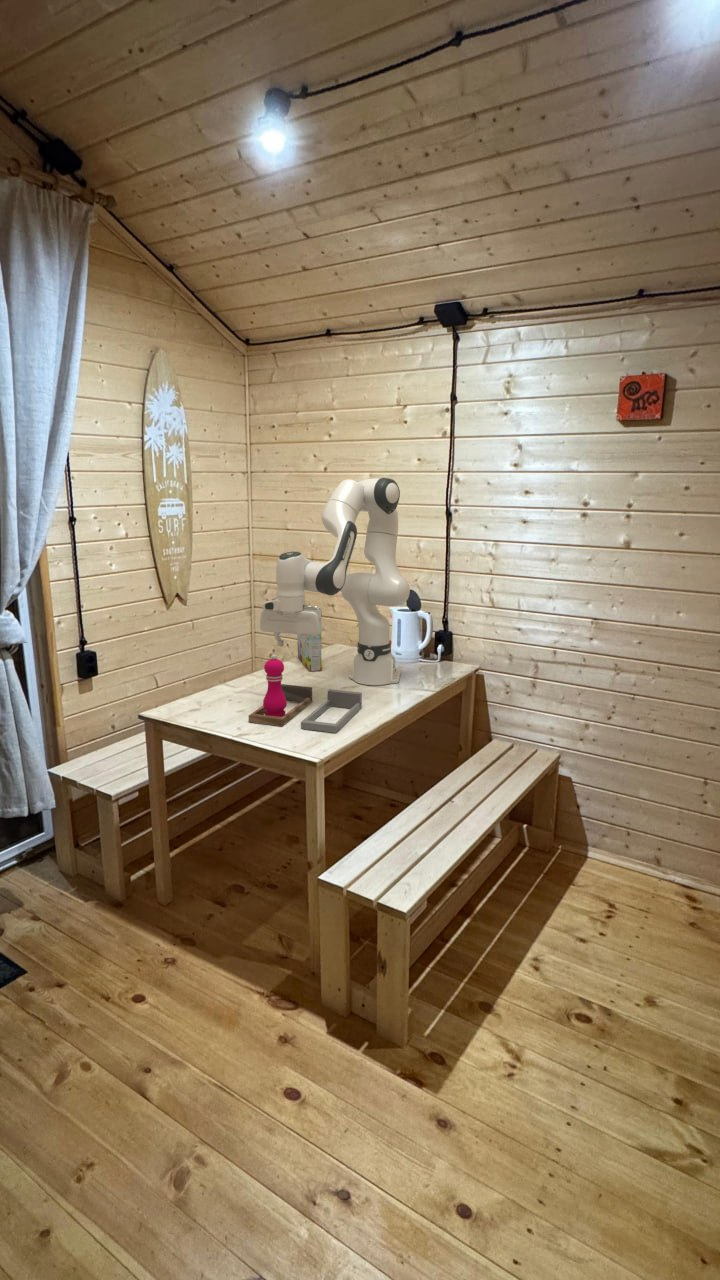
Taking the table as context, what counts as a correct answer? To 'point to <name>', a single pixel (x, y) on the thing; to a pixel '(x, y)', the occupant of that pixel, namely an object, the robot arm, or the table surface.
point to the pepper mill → (274, 688)
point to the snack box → (310, 652)
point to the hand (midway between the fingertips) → (291, 646)
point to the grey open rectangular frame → (338, 700)
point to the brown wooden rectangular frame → (291, 694)
